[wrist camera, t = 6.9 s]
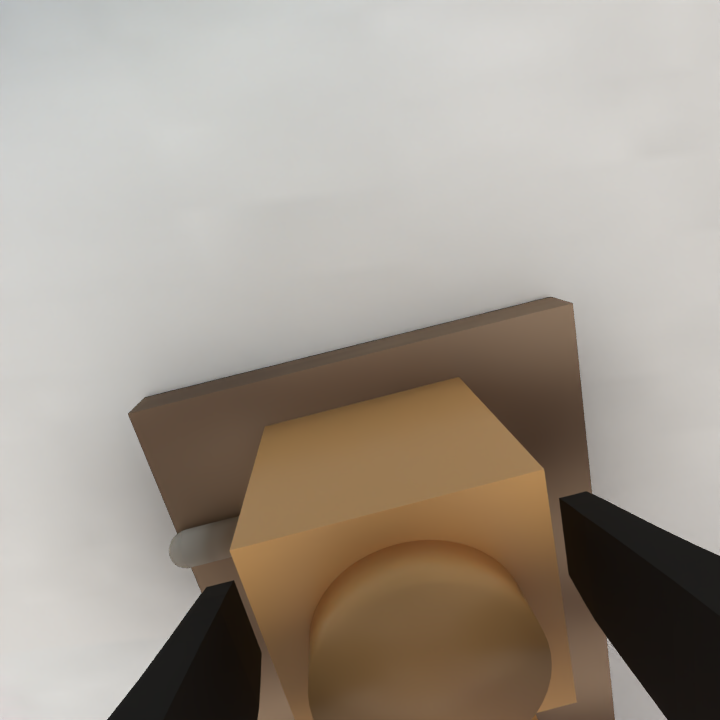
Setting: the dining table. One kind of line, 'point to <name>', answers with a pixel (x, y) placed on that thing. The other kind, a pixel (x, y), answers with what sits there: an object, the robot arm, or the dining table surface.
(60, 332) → the dining table surface
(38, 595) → the dining table surface
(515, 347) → the junction board
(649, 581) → the robot arm
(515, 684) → the cube with round boss
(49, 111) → the dining table surface
